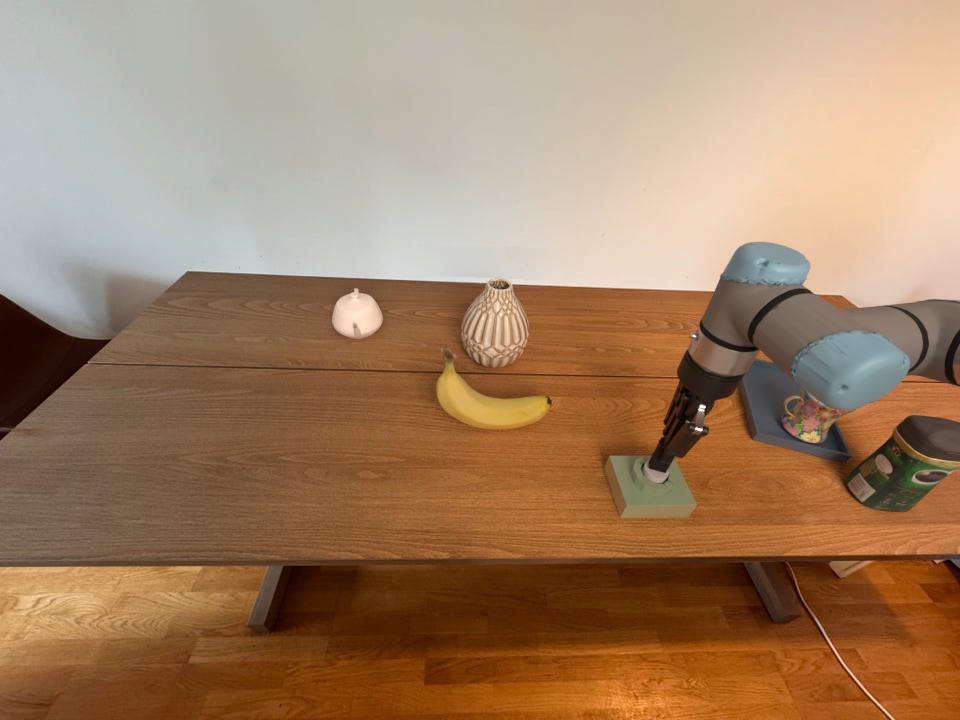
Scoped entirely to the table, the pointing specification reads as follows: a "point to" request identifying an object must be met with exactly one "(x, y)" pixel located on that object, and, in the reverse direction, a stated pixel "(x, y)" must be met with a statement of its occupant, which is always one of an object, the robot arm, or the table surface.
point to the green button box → (647, 490)
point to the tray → (765, 406)
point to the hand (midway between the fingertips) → (657, 467)
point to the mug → (809, 418)
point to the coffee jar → (907, 464)
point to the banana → (485, 402)
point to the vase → (495, 326)
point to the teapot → (357, 315)
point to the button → (654, 474)
